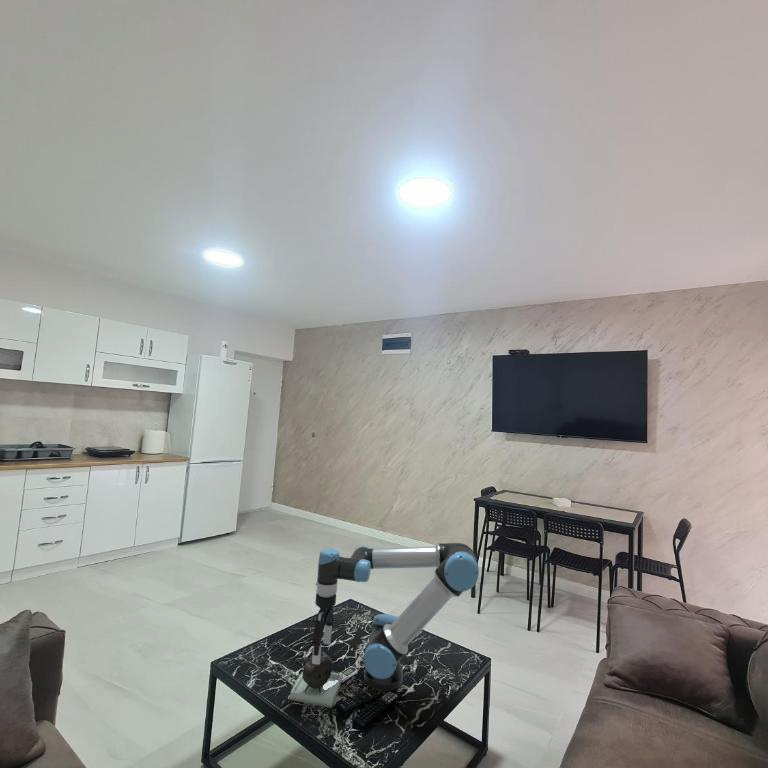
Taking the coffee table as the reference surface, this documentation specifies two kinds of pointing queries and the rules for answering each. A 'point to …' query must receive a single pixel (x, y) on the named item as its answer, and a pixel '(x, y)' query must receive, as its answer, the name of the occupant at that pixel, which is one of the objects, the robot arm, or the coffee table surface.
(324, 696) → the tray
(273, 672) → the coffee table surface
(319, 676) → the alarm clock
